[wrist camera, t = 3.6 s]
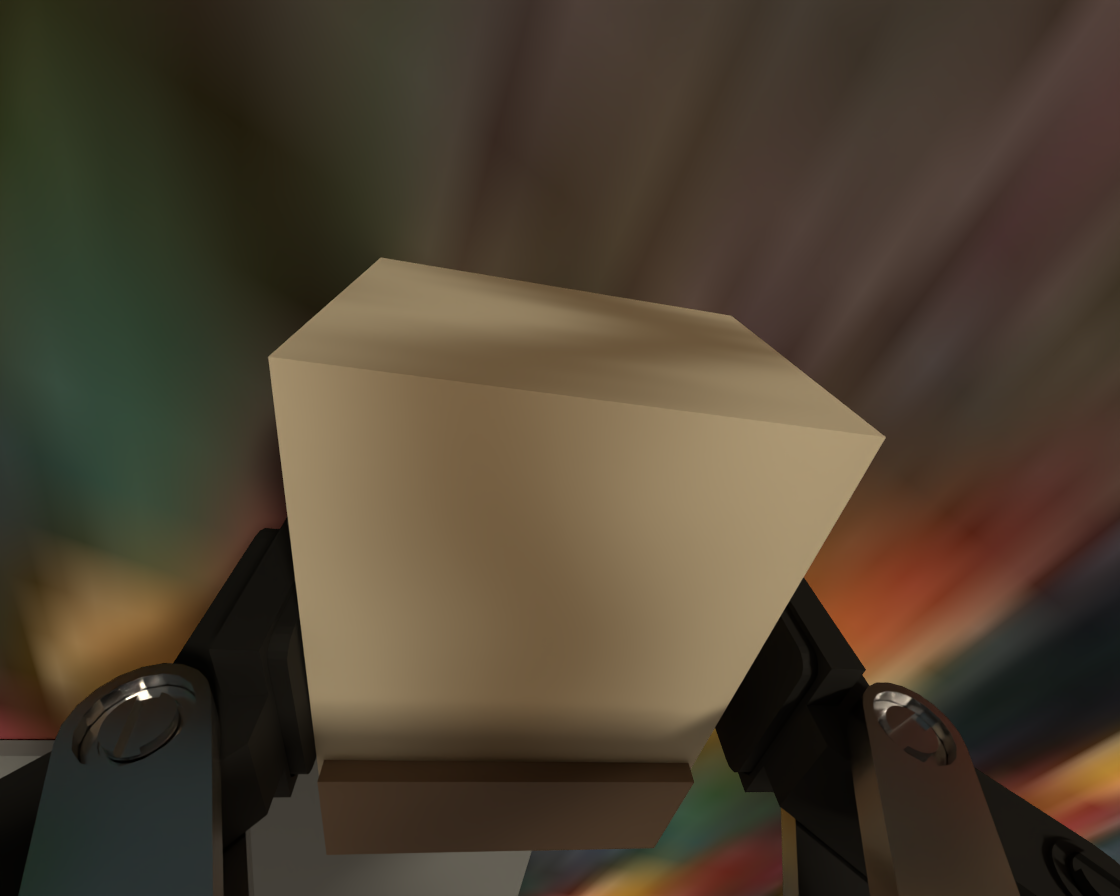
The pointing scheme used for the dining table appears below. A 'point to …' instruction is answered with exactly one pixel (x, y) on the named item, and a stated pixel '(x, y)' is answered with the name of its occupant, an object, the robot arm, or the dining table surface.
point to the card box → (537, 550)
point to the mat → (338, 880)
